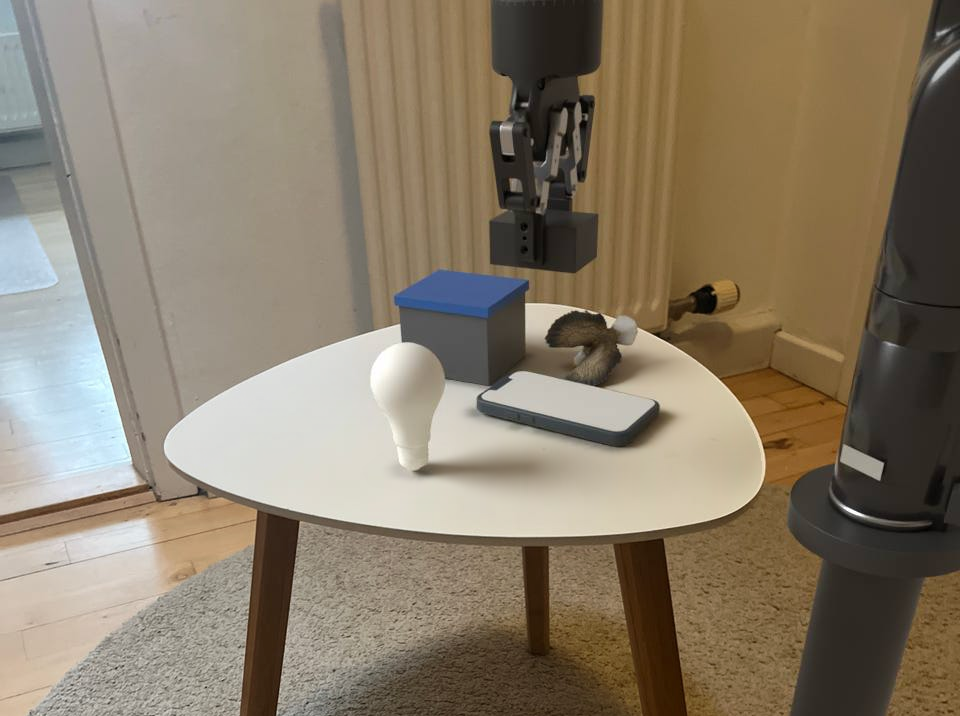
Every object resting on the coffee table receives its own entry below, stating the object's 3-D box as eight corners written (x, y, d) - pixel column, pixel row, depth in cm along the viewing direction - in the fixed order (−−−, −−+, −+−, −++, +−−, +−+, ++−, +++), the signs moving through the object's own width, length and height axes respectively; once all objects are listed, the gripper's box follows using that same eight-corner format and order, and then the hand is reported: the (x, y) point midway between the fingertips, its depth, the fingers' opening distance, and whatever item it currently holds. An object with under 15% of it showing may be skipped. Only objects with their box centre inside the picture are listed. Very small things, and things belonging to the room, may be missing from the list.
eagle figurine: (563, 340, 106) (527, 352, 99) (603, 286, 102) (568, 294, 95) (613, 388, 105) (581, 403, 98) (656, 336, 101) (625, 348, 94)
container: (529, 355, 106) (529, 279, 101) (490, 387, 99) (488, 308, 94) (443, 342, 110) (439, 269, 105) (399, 372, 103) (393, 295, 98)
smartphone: (663, 416, 93) (517, 382, 100) (665, 400, 92) (517, 367, 99) (623, 453, 87) (470, 414, 94) (624, 436, 86) (470, 398, 93)
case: (597, 257, 76) (598, 213, 74) (575, 274, 72) (576, 228, 71) (514, 248, 78) (514, 206, 76) (489, 264, 75) (488, 220, 73)
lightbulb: (408, 447, 89) (399, 326, 82) (463, 464, 86) (458, 339, 79) (364, 474, 85) (351, 349, 78) (420, 492, 82) (411, 364, 75)
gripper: (558, -1, 59) (553, 289, 69) (635, -17, 69) (621, 238, 79) (447, -1, 61) (458, 278, 72) (537, -17, 72) (535, 229, 82)
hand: (543, 255), depth 75 cm, fingers closed on case, 4 cm apart
